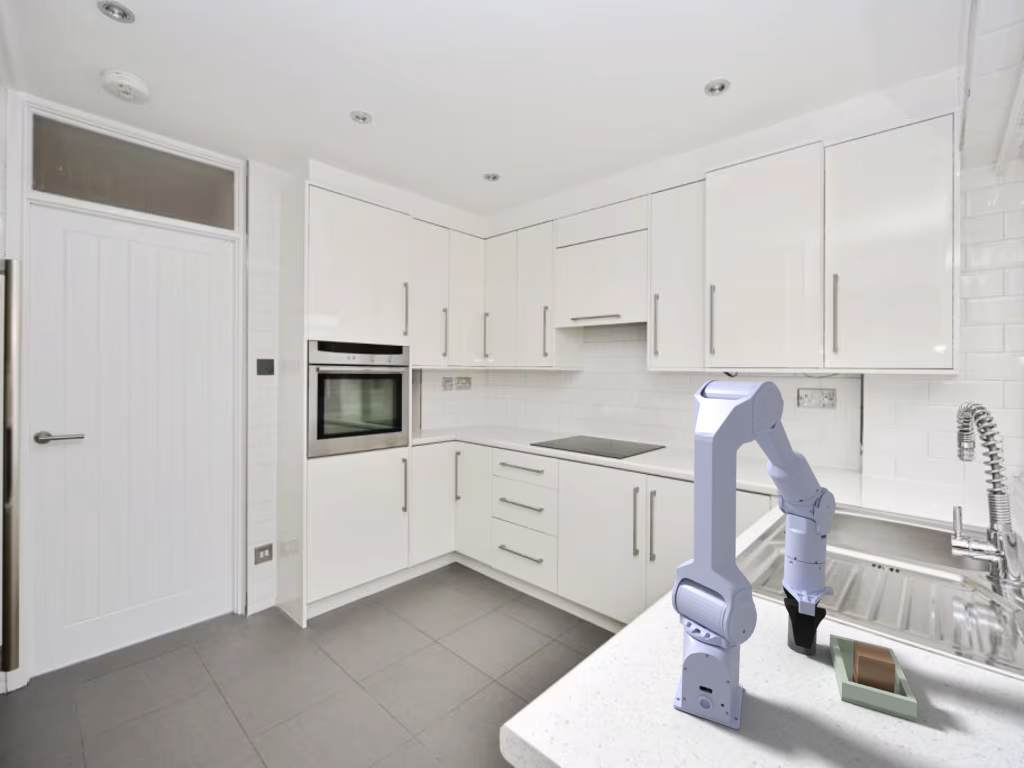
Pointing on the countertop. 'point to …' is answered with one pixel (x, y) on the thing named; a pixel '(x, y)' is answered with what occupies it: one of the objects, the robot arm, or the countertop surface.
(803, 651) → the steel cylinder
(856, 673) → the walnut block
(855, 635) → the countertop surface
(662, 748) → the countertop surface
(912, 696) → the tray
